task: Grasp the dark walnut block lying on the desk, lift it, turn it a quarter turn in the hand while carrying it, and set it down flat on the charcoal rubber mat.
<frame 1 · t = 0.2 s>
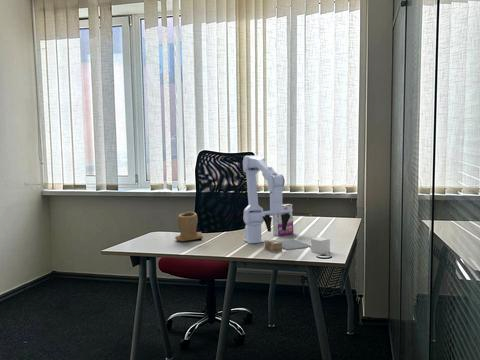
hand: (276, 230, 210), 10 cm above the table, tool pointing down, fingers open, 7 cm apart
candy bar box: (283, 234, 251), on the table
stone cup: (190, 240, 241), on the table
walnut block: (273, 250, 214), on the table
adhesive note: (320, 252, 207), on the table
rubber mat: (290, 245, 223), on the table
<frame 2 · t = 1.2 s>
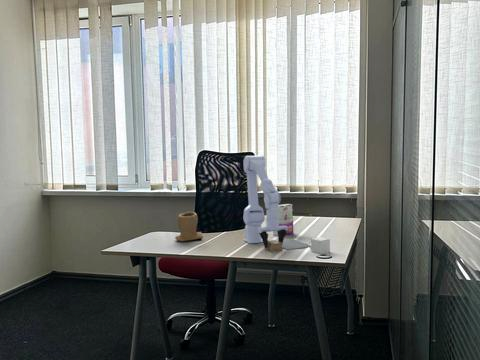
hand: (273, 246, 214), 1 cm above the table, tool pointing down, fingers open, 7 cm apart
nothing on the table moved.
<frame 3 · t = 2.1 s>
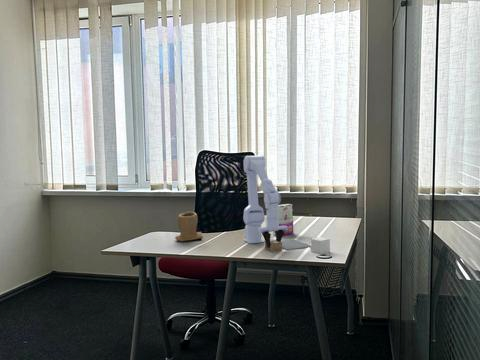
hand: (273, 246, 214), 1 cm above the table, tool pointing down, fingers closed on walnut block, 4 cm apart
walnut block: (273, 249, 214), on the table, touching gripper
everything else where it was.
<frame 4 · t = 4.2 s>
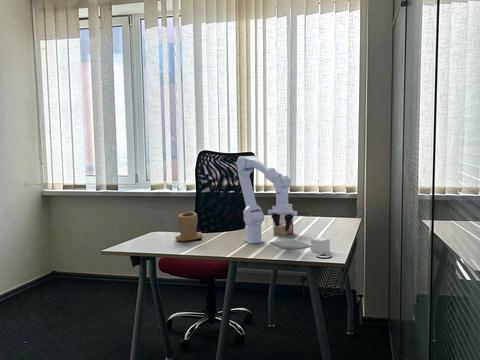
hand: (282, 229, 218), 8 cm above the table, tool pointing down, fingers closed on walnut block, 4 cm apart
walnut block: (282, 234, 218), point 6 cm above the table, touching gripper
everything else where it was.
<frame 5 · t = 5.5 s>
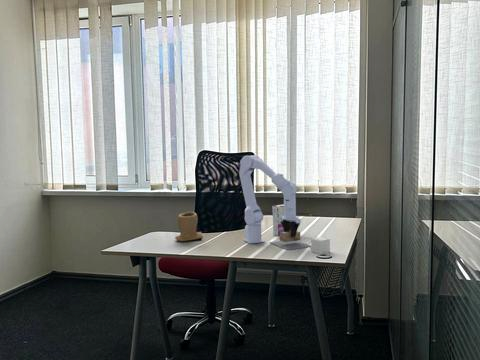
hand: (290, 236, 223), 4 cm above the table, tool pointing down, fingers closed on walnut block, 4 cm apart
walnut block: (290, 240, 223), point 2 cm above the table, touching gripper
everything else where it was.
when the fingers open (3 cm above the table, at t = 6.6 s): walnut block stays where it is, resting on rubber mat.
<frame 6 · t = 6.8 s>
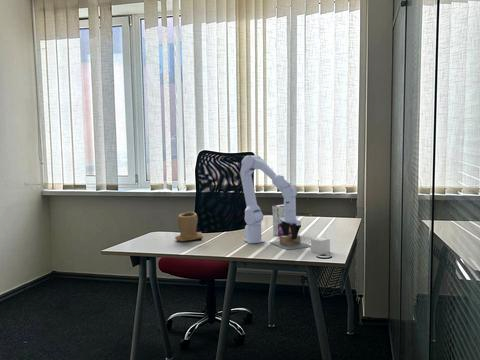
hand: (290, 238, 223), 3 cm above the table, tool pointing down, fingers open, 6 cm apart
walnut block: (290, 244, 223), resting on rubber mat
everything else where it was.
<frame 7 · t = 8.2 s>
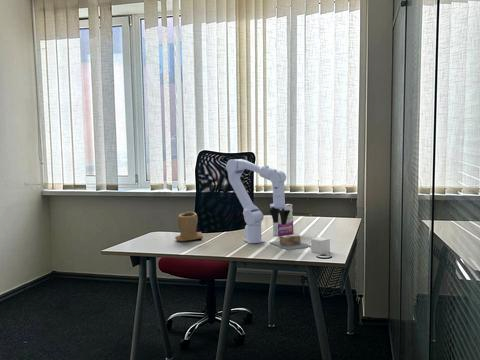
hand: (279, 223, 224), 10 cm above the table, tool pointing down, fingers open, 7 cm apart
nothing on the table moved.
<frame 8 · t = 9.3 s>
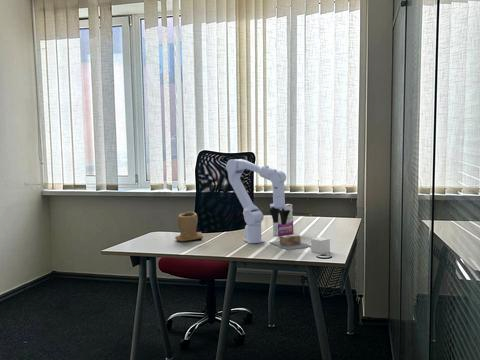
hand: (279, 223, 224), 10 cm above the table, tool pointing down, fingers open, 7 cm apart
nothing on the table moved.
at the end: walnut block inside the target area on the rubber mat (0.2 cm from its centre), point 0.5 cm above the rubber mat's base; walnut block tilted 0°; the gripper is holding nothing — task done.
